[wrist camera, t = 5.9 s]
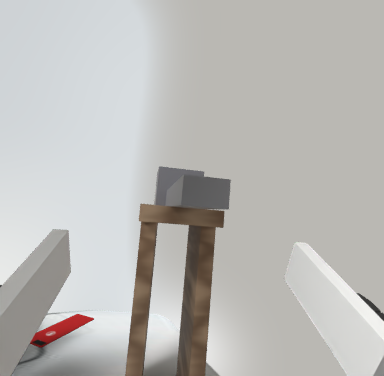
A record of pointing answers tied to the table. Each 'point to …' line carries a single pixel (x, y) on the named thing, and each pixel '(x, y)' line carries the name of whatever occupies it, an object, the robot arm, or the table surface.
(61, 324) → the electronic device
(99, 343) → the table surface
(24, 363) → the table surface
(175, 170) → the grey t-shaped block
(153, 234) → the shelf
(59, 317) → the table surface
